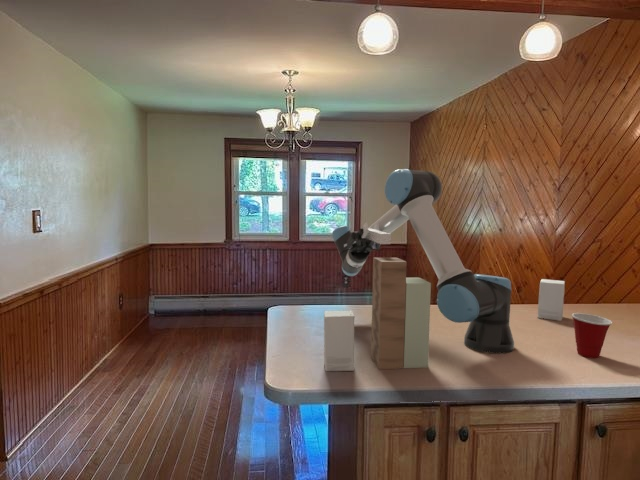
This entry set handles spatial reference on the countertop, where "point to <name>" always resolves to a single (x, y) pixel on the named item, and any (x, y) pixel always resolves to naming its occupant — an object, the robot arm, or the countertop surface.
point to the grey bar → (378, 236)
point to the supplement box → (551, 299)
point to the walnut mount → (388, 312)
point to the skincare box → (339, 340)
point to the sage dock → (416, 323)
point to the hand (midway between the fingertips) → (372, 226)
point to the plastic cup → (590, 333)
